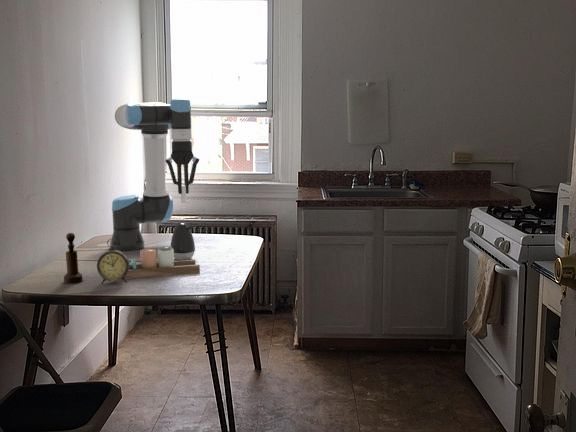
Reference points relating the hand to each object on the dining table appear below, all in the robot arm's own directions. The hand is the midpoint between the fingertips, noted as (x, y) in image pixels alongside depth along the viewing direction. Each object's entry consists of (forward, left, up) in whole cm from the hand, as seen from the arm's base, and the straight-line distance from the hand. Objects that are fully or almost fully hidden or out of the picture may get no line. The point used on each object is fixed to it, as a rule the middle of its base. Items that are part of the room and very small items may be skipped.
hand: (183, 202), depth 263 cm
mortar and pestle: (+4, -42, -27) cm, 50 cm away
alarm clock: (+11, -28, -27) cm, 40 cm away
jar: (+2, -8, -26) cm, 28 cm away
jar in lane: (+2, -14, -26) cm, 30 cm away
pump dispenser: (-19, +2, -27) cm, 33 cm away
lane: (+2, -10, -26) cm, 28 cm away
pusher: (+2, -23, -26) cm, 35 cm away
